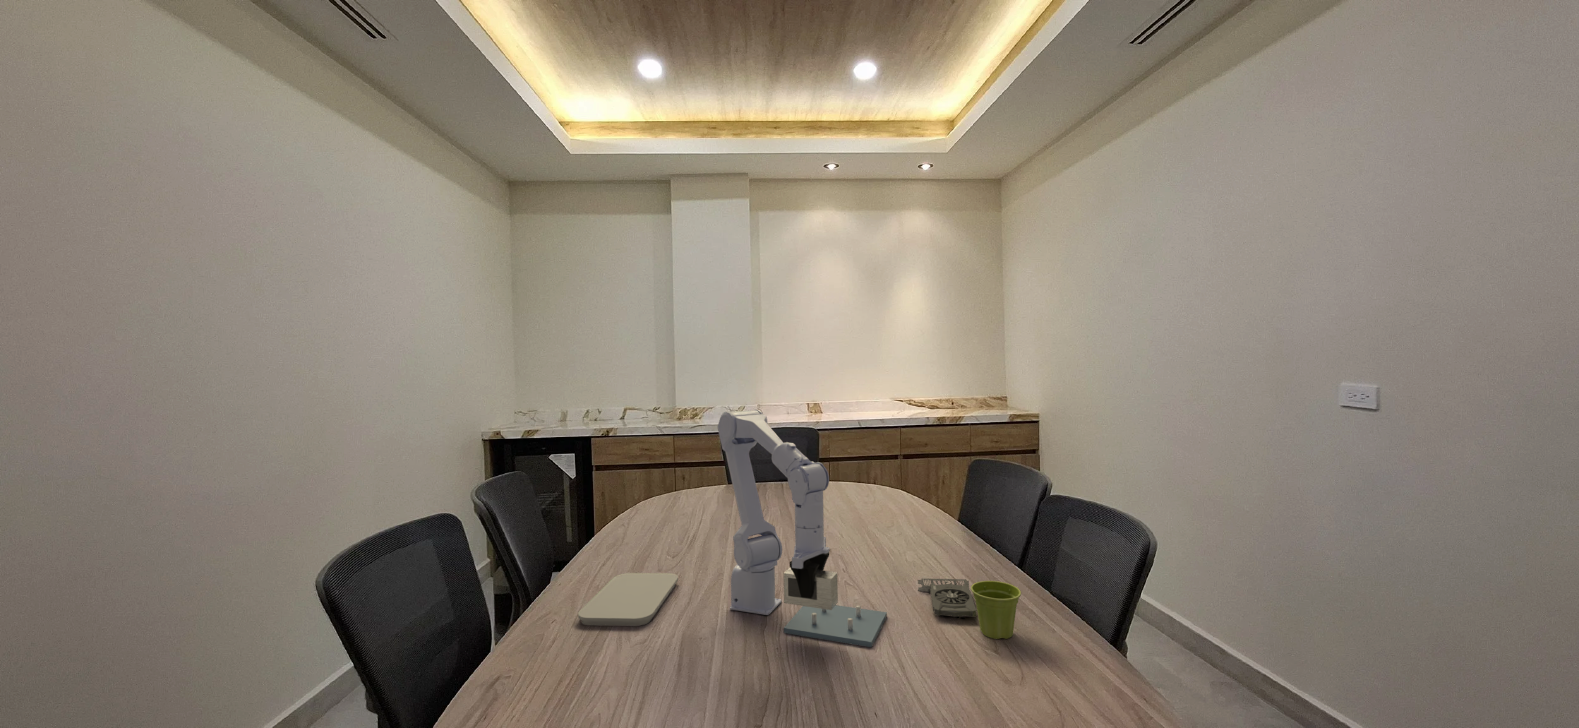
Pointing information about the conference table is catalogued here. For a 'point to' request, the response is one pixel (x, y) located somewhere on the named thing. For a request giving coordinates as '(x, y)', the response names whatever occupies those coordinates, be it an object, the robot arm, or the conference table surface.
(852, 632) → the tray
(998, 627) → the plant pot
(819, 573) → the beige rectangular block
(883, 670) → the conference table surface
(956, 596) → the graphics card
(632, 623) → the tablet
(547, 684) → the conference table surface
